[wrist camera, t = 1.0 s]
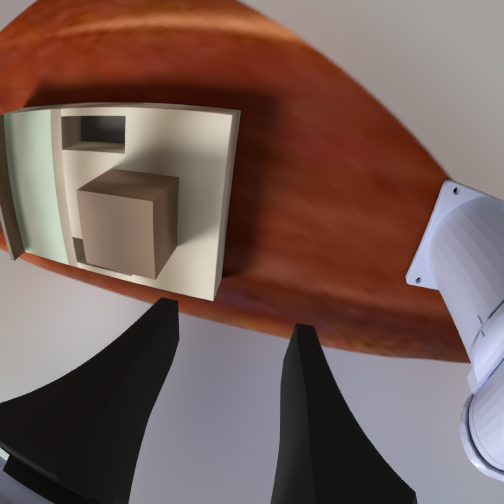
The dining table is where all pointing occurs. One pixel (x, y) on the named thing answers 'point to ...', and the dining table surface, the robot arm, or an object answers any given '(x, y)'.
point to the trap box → (122, 158)
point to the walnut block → (129, 221)
